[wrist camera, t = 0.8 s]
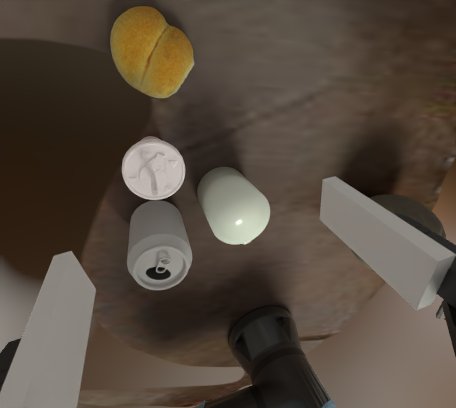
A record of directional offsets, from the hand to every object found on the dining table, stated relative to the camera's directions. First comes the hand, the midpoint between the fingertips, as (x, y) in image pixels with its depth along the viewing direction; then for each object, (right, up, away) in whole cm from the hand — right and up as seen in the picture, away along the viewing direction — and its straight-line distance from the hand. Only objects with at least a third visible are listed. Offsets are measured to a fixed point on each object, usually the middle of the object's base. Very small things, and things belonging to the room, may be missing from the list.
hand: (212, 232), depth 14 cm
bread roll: (-8, +19, +17) cm, 27 cm away
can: (-10, -1, +26) cm, 28 cm away
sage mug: (0, +3, +27) cm, 27 cm away
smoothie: (-10, +9, +22) cm, 25 cm away
